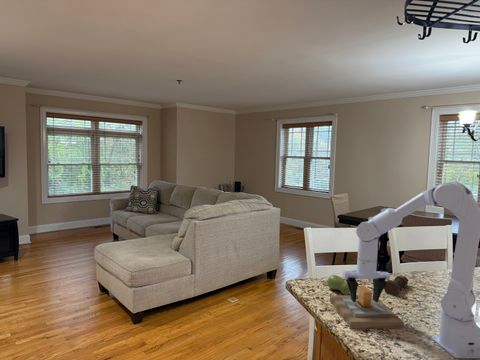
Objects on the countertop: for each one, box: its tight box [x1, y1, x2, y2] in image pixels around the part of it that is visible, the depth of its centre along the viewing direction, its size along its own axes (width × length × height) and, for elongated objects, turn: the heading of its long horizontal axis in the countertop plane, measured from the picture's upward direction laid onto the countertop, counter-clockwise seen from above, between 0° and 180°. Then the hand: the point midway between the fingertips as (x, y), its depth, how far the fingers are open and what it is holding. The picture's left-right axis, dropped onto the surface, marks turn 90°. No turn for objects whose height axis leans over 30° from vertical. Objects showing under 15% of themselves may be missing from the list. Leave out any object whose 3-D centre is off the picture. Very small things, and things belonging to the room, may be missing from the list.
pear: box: [326, 274, 351, 296], centre depth 122 cm, size 6×5×10 cm
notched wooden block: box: [357, 285, 373, 308], centre depth 104 cm, size 5×2×8 cm, turn 3°
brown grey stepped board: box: [329, 290, 405, 330], centre depth 104 cm, size 18×16×4 cm
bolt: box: [383, 275, 409, 297], centre depth 126 cm, size 6×5×15 cm
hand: (364, 300), depth 104 cm, fingers open, 7 cm apart
